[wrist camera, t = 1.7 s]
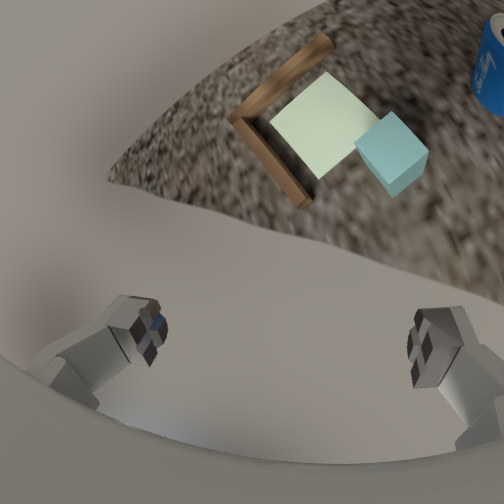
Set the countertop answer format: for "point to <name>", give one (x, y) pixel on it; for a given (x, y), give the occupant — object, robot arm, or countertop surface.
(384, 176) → the teal block
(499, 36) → the beverage can
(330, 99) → the pad
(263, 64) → the countertop surface
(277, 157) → the corner walls
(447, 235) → the countertop surface
